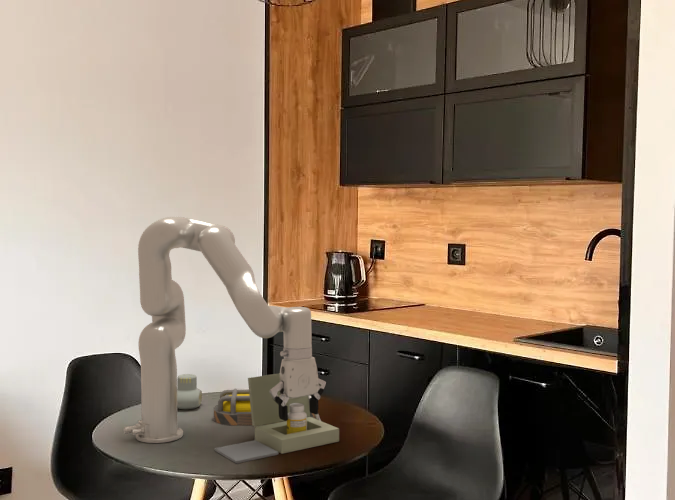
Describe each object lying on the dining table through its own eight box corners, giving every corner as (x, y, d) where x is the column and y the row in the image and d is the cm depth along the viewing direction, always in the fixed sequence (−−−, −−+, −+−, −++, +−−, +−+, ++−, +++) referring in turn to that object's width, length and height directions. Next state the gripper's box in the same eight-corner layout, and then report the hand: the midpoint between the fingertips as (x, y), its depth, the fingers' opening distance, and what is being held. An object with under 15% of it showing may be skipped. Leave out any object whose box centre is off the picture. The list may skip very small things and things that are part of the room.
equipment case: (281, 453, 188) (282, 390, 187) (247, 436, 202) (247, 377, 201) (342, 440, 199) (342, 380, 198) (305, 424, 213) (306, 368, 213)
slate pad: (236, 463, 180) (236, 461, 180) (214, 450, 190) (214, 448, 190) (278, 454, 187) (278, 452, 187) (255, 442, 197) (255, 440, 197)
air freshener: (197, 412, 226) (197, 379, 226) (170, 412, 226) (170, 379, 226) (202, 402, 237) (202, 372, 237) (177, 403, 237) (176, 372, 237)
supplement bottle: (289, 437, 202) (289, 401, 201) (308, 438, 201) (308, 402, 201) (284, 443, 197) (284, 406, 196) (304, 444, 196) (304, 407, 195)
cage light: (215, 387, 226) (313, 386, 229) (215, 413, 226) (313, 411, 229) (211, 399, 211) (316, 397, 214) (211, 426, 212) (316, 425, 214)
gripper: (277, 359, 189) (278, 425, 190) (332, 351, 200) (333, 414, 200) (262, 355, 196) (263, 419, 196) (316, 347, 206) (317, 408, 207)
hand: (298, 416), depth 198 cm, fingers open, 9 cm apart
